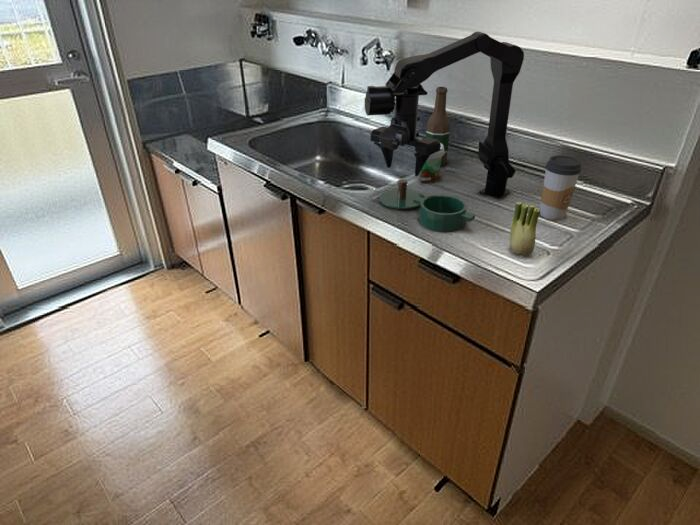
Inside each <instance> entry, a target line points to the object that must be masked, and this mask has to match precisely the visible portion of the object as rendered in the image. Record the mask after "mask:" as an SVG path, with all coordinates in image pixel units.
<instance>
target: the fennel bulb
mask: <svg viewBox="0 0 700 525" xmlns="http://www.w3.org/2000/svg"><path fill="white" fill-rule="evenodd" d="M514 207H515V208H514V214H513V218H512V222H511V225H510V232H509V247H510V250H511V252H512V253H513V254H514V255H516V256H520V257H524V256H528V255H530V254H532V253H533V252H534V250H535V246H536V238H537V237H536V236H537V233H536V231H537V225H538V220H539V217H540V215H541V214H540V208H537V207H536V206H535V205H533V204H531V205H530V206H529V204H523V203H522V202H521V201H517V202H515V206H514Z"/></svg>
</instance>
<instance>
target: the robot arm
mask: <svg viewBox="0 0 700 525" xmlns="http://www.w3.org/2000/svg"><path fill="white" fill-rule="evenodd" d="M478 53H481V54H484V56H487V57H489V59H490V71H491V75H492V79H493V86H492V95H491V104H490V111H489V121H488V129H487V135H486V137H485V139H484V140H483V141H482V140H479V141H478V151H477V154H476V155H477V156H478V159H479V161H480V162H481V163H482V164H483V168H484V169H485V170H486V171H487V173H486V180H485V186H484V188H483V189H481V190H479V194H481V195H484V196H488V197H491V198H493V199H498V200H500V199H503V198H504V197H505V196H507V195H508V194H510V192H511V190H509V189H507V185H508V179H513V177H514V175H515V174H516V169H515V167H514V166H512V164H511V163H509V162H510V157H509V156H510V154H509V151H510V150H509V147H508V142H507V130H508V123H509V115H510V109H511V101H512V95H513V88H514V83H515V80H516V79H517V78H518V76H519V74H520V73H521V70H522V67H523V63H524V59H525V52H524V50H523V49H522V48H521V46H519V45H516V44H513V43H510V42H507V41H499V40H497V39H495V38H493V37H491V36H490V35H489V34H488V33H485V32H481V31H474V32H473V33H472V34H470V35H468V36H465V37H464V38H460V39H459V40H457V41H454V42H452V43H449V44H447V45H445V46H442V47H441V48H438V49H436V50H434V51H432V52H431V51H430V52H429V53H426V54H418V55H412V56H408V57H404V58H401V59H400V60H398V61H397V62H396V64H395V66H394V70H393V71H394V72H393V73H392V74H391V76H390V77H389V79H388V80H387V81H386V83H385V85H383V86H382V85H381V86H374V85H368V86H367V88H366V89H367V90H366V93H365V97H364V111H365V115H366V116H382V115H383V116H385V115H390V114H391V113H393V112H394V116H393V117H391V119H390V124H389V126H384V125H383V126H379V127H377V128H374V129H372V130H371V132H370V139H369V140H370V142H373V144H374V145H375V146H377V147H378V148H379V149H380V151H381V153H382V156H383V158H384V162H385V165H386V168H388V169H390V168H391V167H392V163H393V158H394V151H396V150H397V149H398V148H399V146H401V147H404V146H405V145H407V146H410V147H414V151H415V153H413V156H414V157H415V165H414V176H415V177H418V176H419V175H421V174H420V173H421V172H422V168H423V166H424V164H425V163H426V161H427V159H428V158H429V156H430V155H432V154H434V153H436V152H438V151H440V146H441V144H440V142H439V140H437V139H433V138H429V137H426V136H425V137H423V138H422V139H418V137H419V136H420V132H419V131H417V127H418V126H417V124H418V122H419V121H421V116H420V115H418V113H419V112H418V110H419V98H420V96H427V95H428V91H426V89H425V88H424V86H423V85H422V83H424V82H426V81H427V80H428V79H429V78H430V77H431V76H432V75H433V74H434V73H437V72H438V71H440V70H442V69H444V68H446V67H448V66H451V65H453V64H456V63H458V62H460V61H462V60H465V59H466V58H470V57H471V56H474V55H476V54H478Z"/></svg>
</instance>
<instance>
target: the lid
mask: <svg viewBox="0 0 700 525" xmlns="http://www.w3.org/2000/svg"><path fill="white" fill-rule="evenodd" d="M407 188H408V180H407V179H404V178H401V179H398V182H397V188H392V189H388V190H385V191H383V192H381V193H380V194H379V197H378V198H379V199H378V200H379V202H380V203H381V204H382V205H383V206H386V207H388V208H391V209H397V210H411V209H416V208H420V205H419V204H416V203H413V199H415V198H417V197H422V198H425V196H424V195H423V194H422V193H420V192H418V191H416V190H412V189H407Z"/></svg>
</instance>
